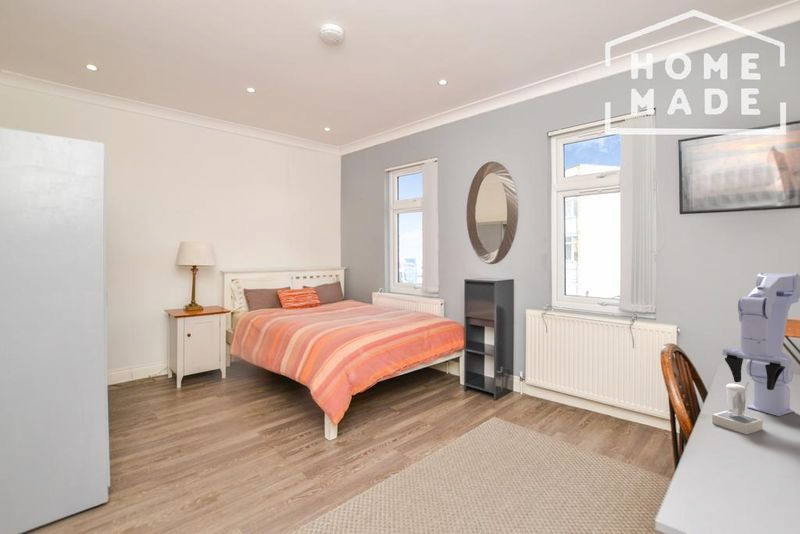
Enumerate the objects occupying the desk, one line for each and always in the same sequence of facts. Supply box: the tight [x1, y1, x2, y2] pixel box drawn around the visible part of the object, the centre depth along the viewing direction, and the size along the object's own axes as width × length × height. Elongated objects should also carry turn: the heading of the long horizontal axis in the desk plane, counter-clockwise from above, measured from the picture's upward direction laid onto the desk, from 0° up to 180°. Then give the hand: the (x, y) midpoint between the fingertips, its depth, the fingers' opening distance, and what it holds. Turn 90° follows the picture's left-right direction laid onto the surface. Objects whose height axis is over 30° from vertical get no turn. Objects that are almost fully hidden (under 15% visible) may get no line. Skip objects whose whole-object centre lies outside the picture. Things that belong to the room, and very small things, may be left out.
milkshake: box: [725, 381, 750, 419], centre depth 108 cm, size 4×5×10 cm
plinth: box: [711, 409, 764, 435], centre depth 108 cm, size 8×8×3 cm
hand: (753, 385), depth 112 cm, fingers open, 7 cm apart
